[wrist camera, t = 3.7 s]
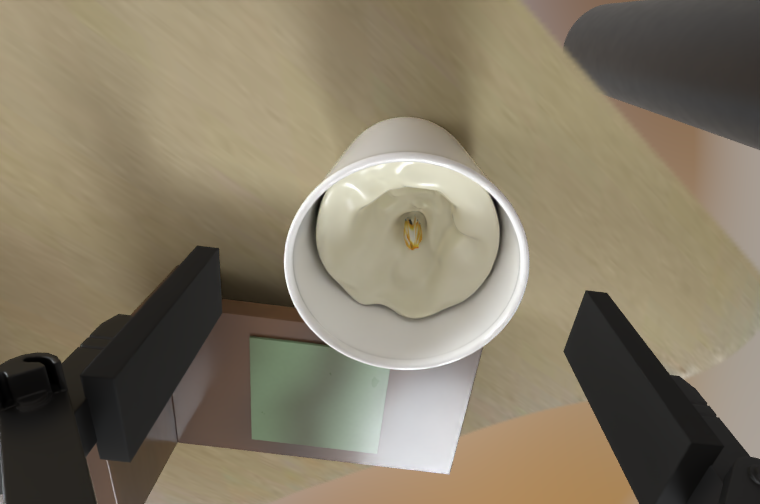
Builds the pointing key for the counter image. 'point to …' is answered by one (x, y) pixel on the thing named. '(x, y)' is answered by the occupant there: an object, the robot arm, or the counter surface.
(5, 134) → the counter surface
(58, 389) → the robot arm
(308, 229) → the candle holder
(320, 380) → the wooden display stand
